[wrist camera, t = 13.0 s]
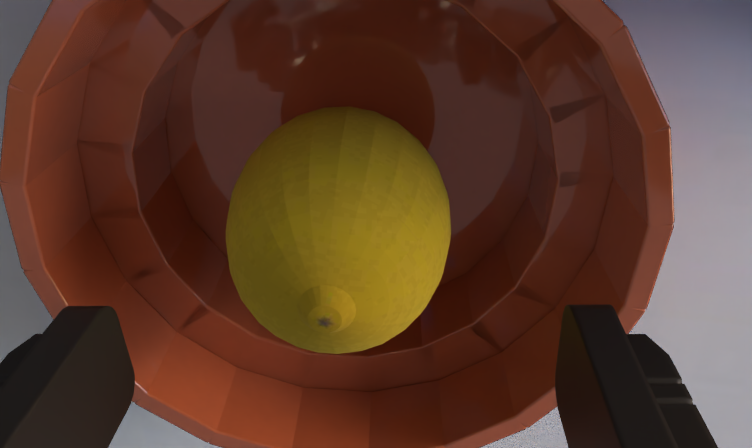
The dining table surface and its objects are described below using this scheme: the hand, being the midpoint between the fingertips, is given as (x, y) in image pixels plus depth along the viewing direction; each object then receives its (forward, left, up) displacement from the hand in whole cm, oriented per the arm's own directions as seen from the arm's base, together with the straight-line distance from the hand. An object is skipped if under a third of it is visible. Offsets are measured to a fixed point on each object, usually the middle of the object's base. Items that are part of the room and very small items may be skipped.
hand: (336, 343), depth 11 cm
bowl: (0, 0, -10) cm, 10 cm away
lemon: (0, 0, -9) cm, 9 cm away
